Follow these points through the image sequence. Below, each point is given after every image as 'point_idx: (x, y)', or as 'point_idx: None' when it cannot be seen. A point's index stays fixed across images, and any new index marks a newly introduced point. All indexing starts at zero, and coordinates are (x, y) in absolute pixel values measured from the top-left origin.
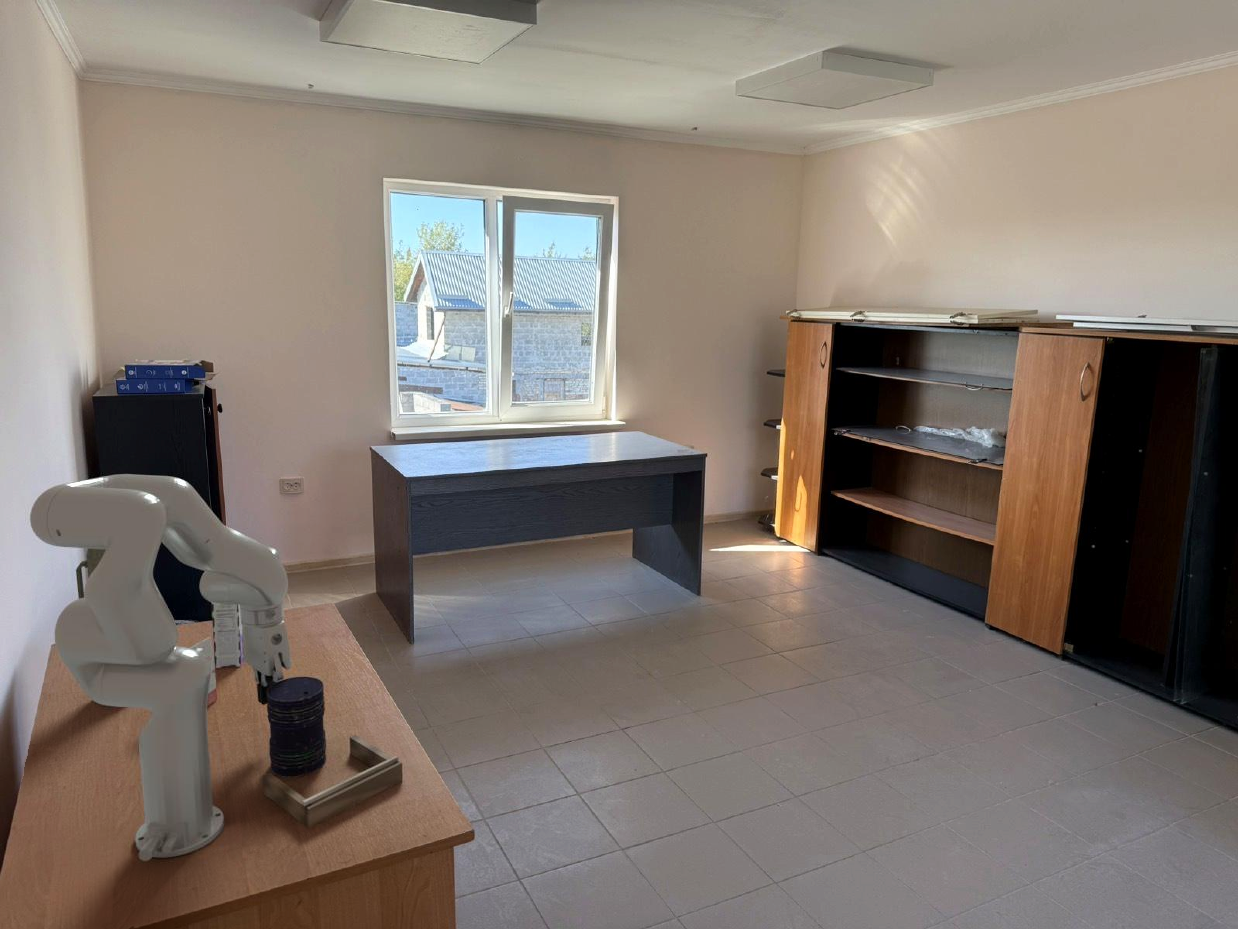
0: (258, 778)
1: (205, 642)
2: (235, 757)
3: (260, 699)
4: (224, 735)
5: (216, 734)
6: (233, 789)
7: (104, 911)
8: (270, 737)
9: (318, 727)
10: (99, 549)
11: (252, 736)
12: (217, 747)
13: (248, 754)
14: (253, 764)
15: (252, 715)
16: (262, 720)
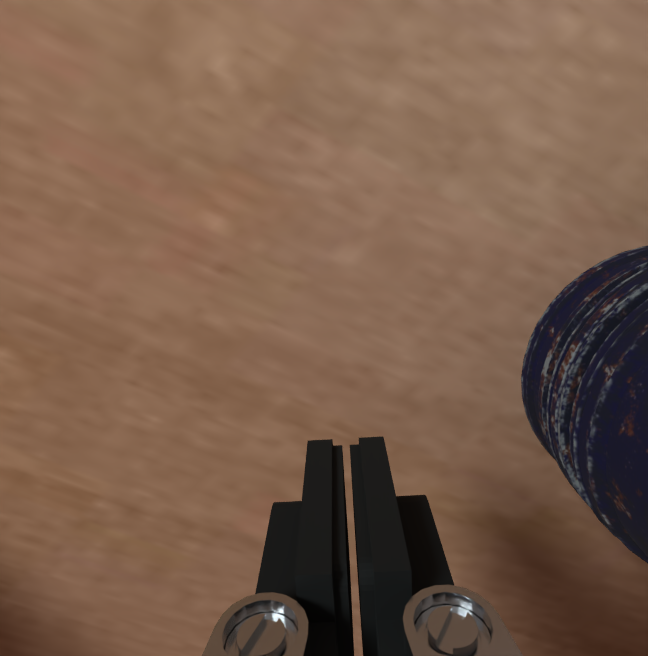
0: (617, 543)
1: None
2: None
3: (350, 582)
4: (161, 497)
5: (129, 516)
6: (609, 633)
7: None
8: (643, 558)
9: None
10: None
11: (255, 416)
12: (247, 555)
13: (400, 493)
14: (497, 513)
15: (41, 328)
16: (126, 314)
